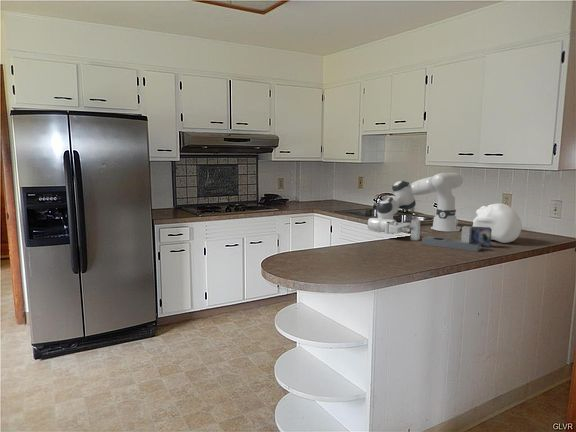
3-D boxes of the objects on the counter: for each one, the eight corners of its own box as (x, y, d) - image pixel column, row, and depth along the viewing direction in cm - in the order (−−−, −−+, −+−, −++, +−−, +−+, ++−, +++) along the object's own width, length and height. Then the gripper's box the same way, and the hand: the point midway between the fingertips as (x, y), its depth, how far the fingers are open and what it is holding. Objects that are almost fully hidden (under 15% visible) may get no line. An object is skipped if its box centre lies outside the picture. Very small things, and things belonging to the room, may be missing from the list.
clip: (413, 238, 253) (414, 219, 251) (419, 239, 250) (420, 220, 249) (410, 239, 250) (411, 220, 248) (416, 240, 247) (417, 220, 246)
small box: (469, 246, 231) (471, 228, 230) (468, 244, 238) (469, 226, 236) (490, 247, 228) (492, 229, 227) (488, 245, 234) (490, 227, 233)
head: (473, 223, 269) (502, 191, 252) (504, 256, 254) (536, 224, 236) (454, 226, 259) (482, 193, 241) (485, 260, 243) (517, 227, 225)
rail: (426, 241, 243) (427, 221, 242) (481, 249, 225) (482, 227, 223) (421, 244, 238) (422, 223, 236) (477, 251, 219) (478, 229, 217)
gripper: (398, 229, 267) (419, 231, 258) (384, 233, 251) (405, 236, 243) (398, 219, 266) (419, 221, 257) (384, 223, 250) (406, 226, 242)
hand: (412, 229), depth 250 cm, fingers open, 8 cm apart
